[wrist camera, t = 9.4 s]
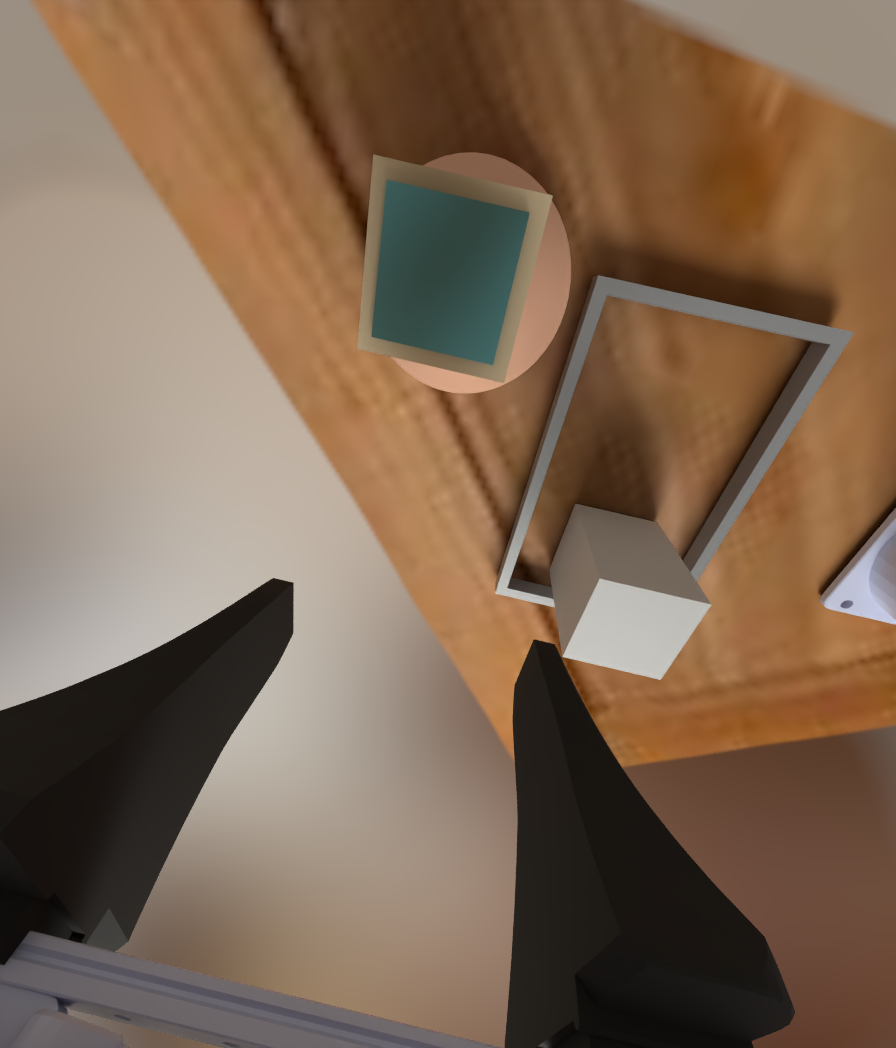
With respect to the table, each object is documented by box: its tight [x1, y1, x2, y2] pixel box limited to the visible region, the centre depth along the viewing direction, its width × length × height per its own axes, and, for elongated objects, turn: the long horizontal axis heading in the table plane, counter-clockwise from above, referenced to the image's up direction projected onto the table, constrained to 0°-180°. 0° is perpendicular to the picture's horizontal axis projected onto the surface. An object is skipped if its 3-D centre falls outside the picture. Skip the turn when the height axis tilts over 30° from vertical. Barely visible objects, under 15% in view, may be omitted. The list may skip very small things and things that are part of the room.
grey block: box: [549, 504, 711, 680], centre depth 18 cm, size 4×4×6 cm
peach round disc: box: [392, 152, 571, 393], centre depth 15 cm, size 8×8×1 cm
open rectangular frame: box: [495, 275, 854, 607], centre depth 18 cm, size 9×14×1 cm, turn 169°
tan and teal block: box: [357, 154, 553, 383], centre depth 12 cm, size 4×4×6 cm
